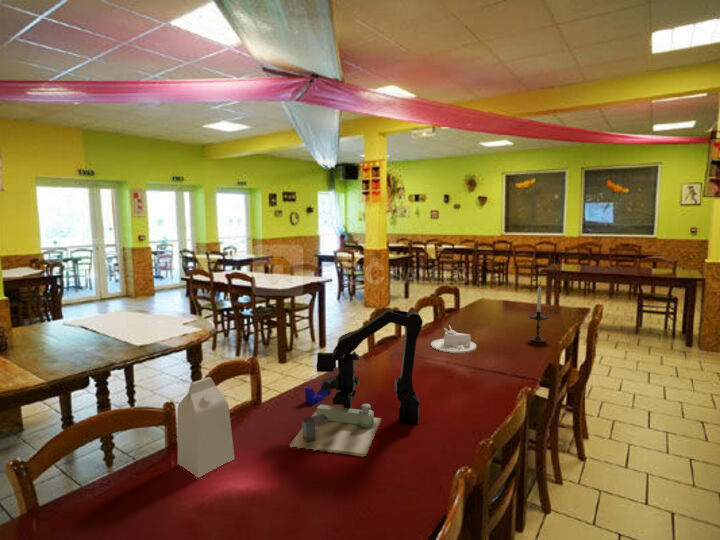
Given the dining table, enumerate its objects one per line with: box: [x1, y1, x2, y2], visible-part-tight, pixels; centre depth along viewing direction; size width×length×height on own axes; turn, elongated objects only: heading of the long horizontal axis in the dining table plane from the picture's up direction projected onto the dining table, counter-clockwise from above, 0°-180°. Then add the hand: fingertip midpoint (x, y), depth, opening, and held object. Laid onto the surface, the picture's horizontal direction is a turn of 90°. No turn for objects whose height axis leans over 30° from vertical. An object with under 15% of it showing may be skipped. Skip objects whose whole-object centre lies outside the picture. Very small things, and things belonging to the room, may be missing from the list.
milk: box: [177, 376, 236, 478], centre depth 130 cm, size 12×12×26 cm
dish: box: [430, 324, 477, 354], centre depth 243 cm, size 25×25×11 cm
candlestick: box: [528, 281, 550, 343], centre depth 250 cm, size 11×11×35 cm
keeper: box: [301, 414, 328, 443], centre depth 143 cm, size 8×4×6 cm, turn 116°
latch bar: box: [316, 403, 375, 427], centre depth 153 cm, size 21×5×6 cm, turn 72°
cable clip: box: [304, 378, 332, 406], centre depth 176 cm, size 12×4×6 cm, turn 143°
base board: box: [289, 410, 382, 457], centre depth 148 cm, size 25×24×1 cm
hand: (347, 412), depth 157 cm, fingers closed
